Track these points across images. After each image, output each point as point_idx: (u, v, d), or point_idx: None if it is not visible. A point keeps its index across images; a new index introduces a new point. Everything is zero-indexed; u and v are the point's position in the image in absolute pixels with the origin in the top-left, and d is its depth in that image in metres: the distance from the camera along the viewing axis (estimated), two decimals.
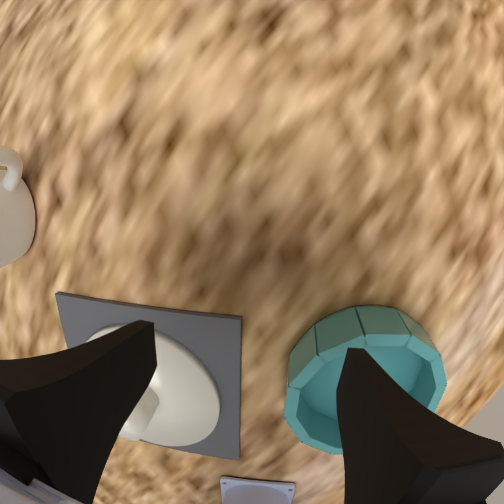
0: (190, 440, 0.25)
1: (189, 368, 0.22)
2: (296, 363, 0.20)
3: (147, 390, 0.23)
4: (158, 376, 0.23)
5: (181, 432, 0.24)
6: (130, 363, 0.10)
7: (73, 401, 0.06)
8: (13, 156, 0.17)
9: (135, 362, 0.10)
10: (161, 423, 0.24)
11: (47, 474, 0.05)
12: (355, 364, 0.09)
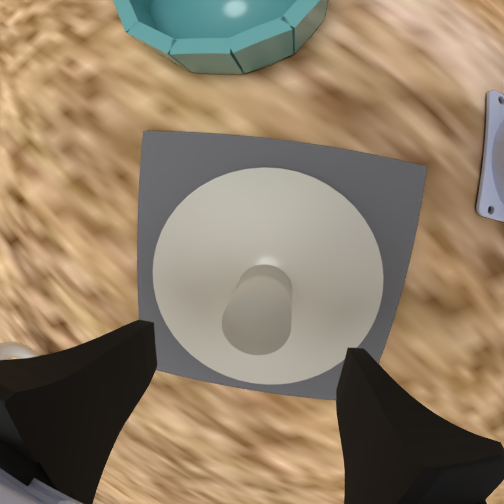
0: (363, 235, 0.16)
1: (198, 200, 0.16)
2: (165, 55, 0.13)
3: (241, 276, 0.17)
4: (219, 251, 0.17)
5: (343, 246, 0.16)
6: (130, 364, 0.10)
7: (73, 401, 0.06)
8: (5, 343, 0.19)
9: (135, 362, 0.10)
10: (324, 277, 0.17)
11: (47, 474, 0.05)
12: (355, 364, 0.09)
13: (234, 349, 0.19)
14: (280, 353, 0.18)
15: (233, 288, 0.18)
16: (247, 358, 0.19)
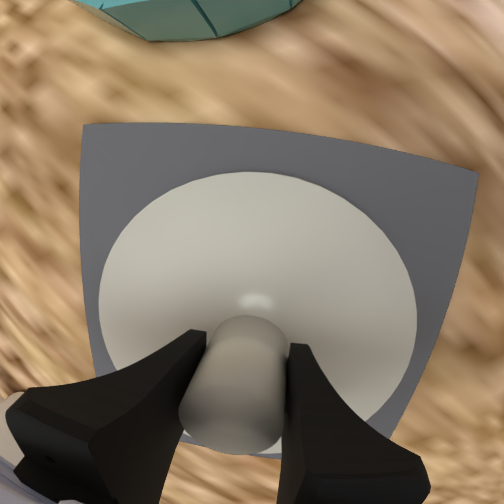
0: (393, 273, 0.10)
1: (149, 221, 0.11)
2: (105, 16, 0.08)
3: (215, 332, 0.11)
4: (182, 295, 0.12)
5: (364, 290, 0.11)
6: (188, 377, 0.09)
7: (144, 424, 0.06)
8: None
9: (192, 374, 0.10)
10: (334, 332, 0.11)
11: None
12: (291, 359, 0.09)
13: None
14: None
15: None
16: None
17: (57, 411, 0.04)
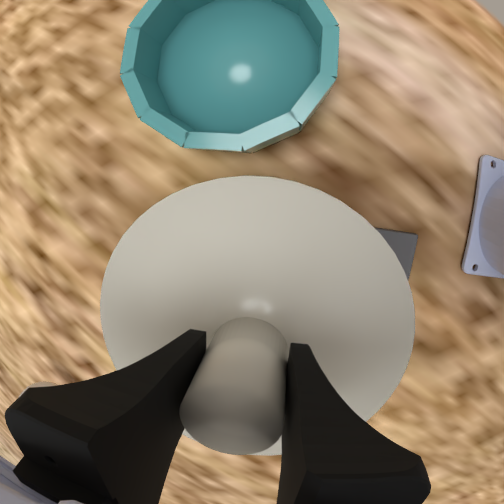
0: (391, 275, 0.11)
1: (151, 225, 0.11)
2: None
3: (215, 333, 0.11)
4: (183, 297, 0.12)
5: (362, 292, 0.11)
6: (188, 376, 0.09)
7: (144, 424, 0.06)
8: (36, 384, 0.22)
9: (191, 374, 0.10)
10: (333, 334, 0.11)
11: None
12: (291, 359, 0.09)
13: None
14: None
15: None
16: None
17: (57, 411, 0.04)
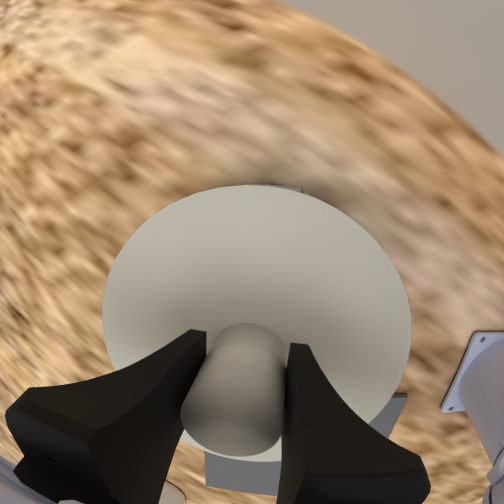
0: (387, 280, 0.11)
1: (153, 232, 0.12)
2: None
3: (215, 339, 0.12)
4: (184, 304, 0.12)
5: (359, 297, 0.11)
6: (188, 377, 0.09)
7: (144, 424, 0.06)
8: None
9: (192, 374, 0.10)
10: (331, 339, 0.12)
11: None
12: (291, 359, 0.09)
13: None
14: None
15: None
16: None
17: (57, 412, 0.04)
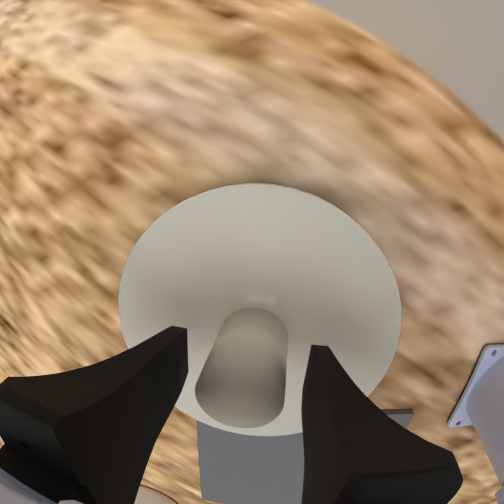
0: (379, 270, 0.12)
1: (166, 227, 0.13)
2: None
3: (224, 322, 0.13)
4: (195, 291, 0.13)
5: (353, 285, 0.12)
6: (166, 372, 0.09)
7: (117, 416, 0.06)
8: None
9: (171, 370, 0.10)
10: (328, 322, 0.13)
11: (92, 496, 0.05)
12: (314, 361, 0.09)
13: None
14: None
15: (215, 335, 0.14)
16: None
17: (30, 399, 0.04)
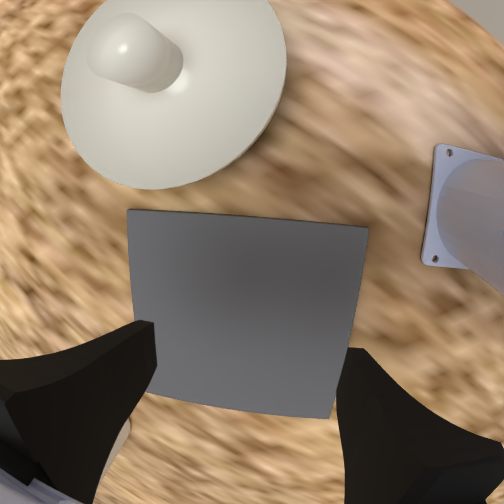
0: None
1: (105, 8, 0.13)
2: None
3: None
4: None
5: (232, 10, 0.12)
6: (130, 364, 0.10)
7: (73, 400, 0.06)
8: None
9: (135, 362, 0.10)
10: (215, 40, 0.13)
11: (47, 474, 0.05)
12: (355, 364, 0.09)
13: (126, 143, 0.15)
14: (174, 138, 0.15)
15: None
16: (140, 152, 0.15)
17: None
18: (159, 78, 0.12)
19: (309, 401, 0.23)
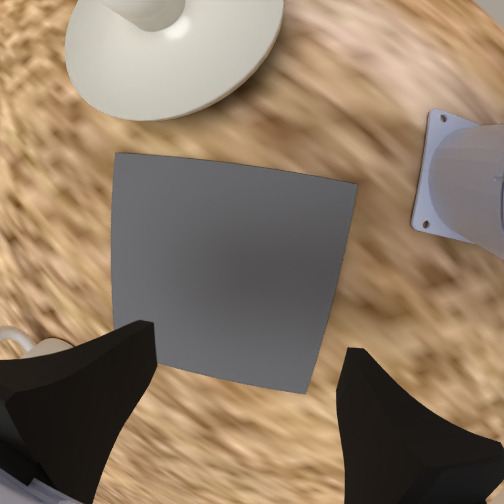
0: None
1: None
2: None
3: None
4: None
5: None
6: (130, 364, 0.10)
7: (73, 400, 0.06)
8: (2, 327, 0.22)
9: (135, 362, 0.10)
10: None
11: (47, 474, 0.05)
12: (355, 364, 0.09)
13: (121, 76, 0.14)
14: (168, 72, 0.14)
15: None
16: (133, 85, 0.14)
17: None
18: (160, 14, 0.12)
19: (285, 371, 0.23)
